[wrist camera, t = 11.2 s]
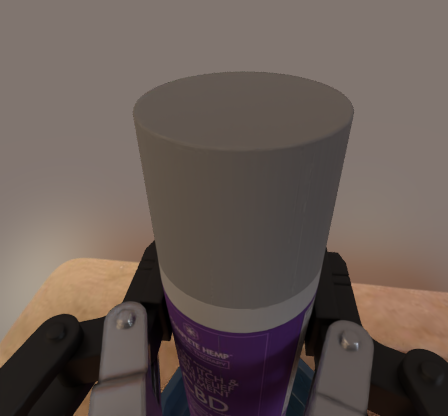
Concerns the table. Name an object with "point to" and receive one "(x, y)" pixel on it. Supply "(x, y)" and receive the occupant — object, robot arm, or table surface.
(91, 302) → the table surface
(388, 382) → the robot arm
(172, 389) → the bowl
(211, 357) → the container
